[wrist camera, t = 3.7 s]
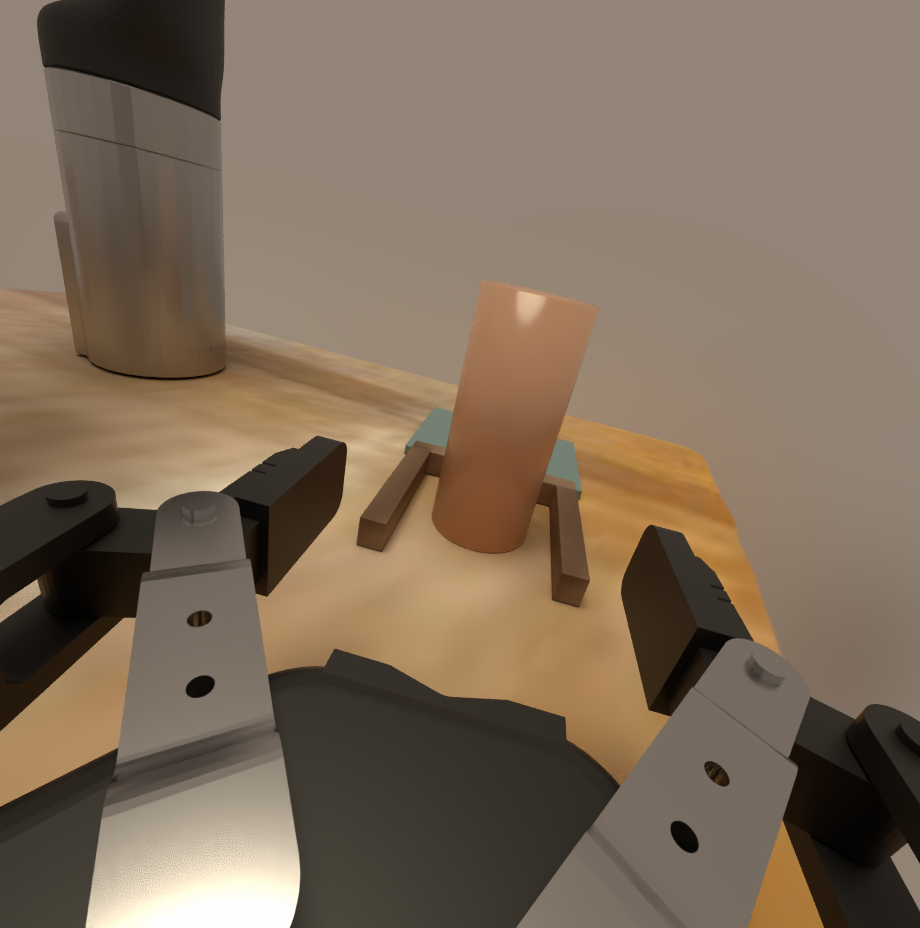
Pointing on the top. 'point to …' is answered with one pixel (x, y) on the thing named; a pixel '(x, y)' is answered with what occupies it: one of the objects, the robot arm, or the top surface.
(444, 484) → the tall tan cylinder
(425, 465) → the holder
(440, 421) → the mat
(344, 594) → the top surface
